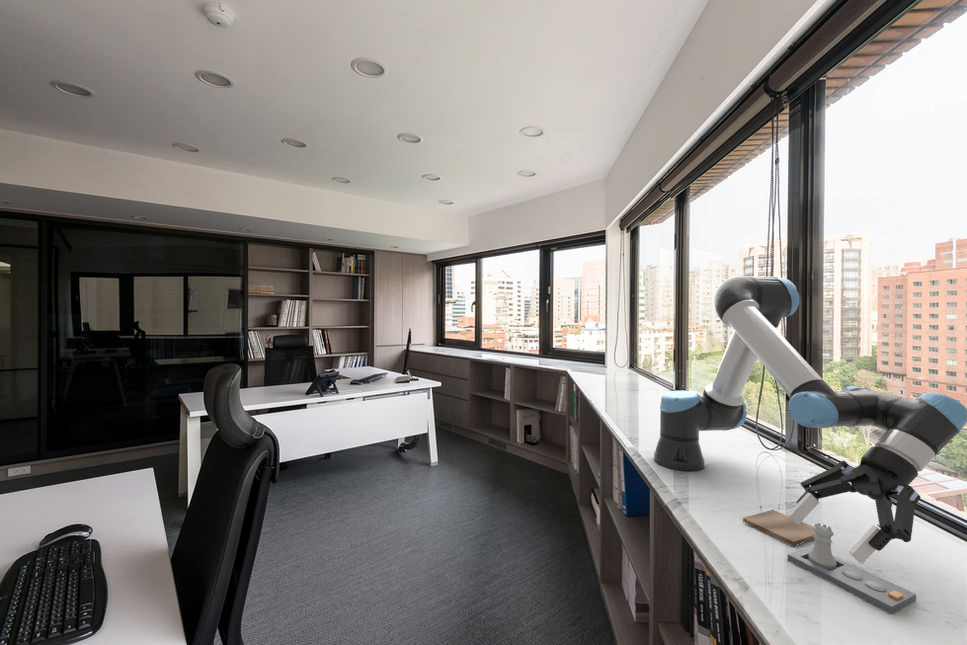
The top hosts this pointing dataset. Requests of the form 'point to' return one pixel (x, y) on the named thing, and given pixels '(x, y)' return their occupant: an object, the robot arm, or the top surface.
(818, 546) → the rook chess piece
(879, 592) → the gray slotted board
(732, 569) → the top surface
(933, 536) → the top surface
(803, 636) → the top surface
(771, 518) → the walnut pad
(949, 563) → the top surface
